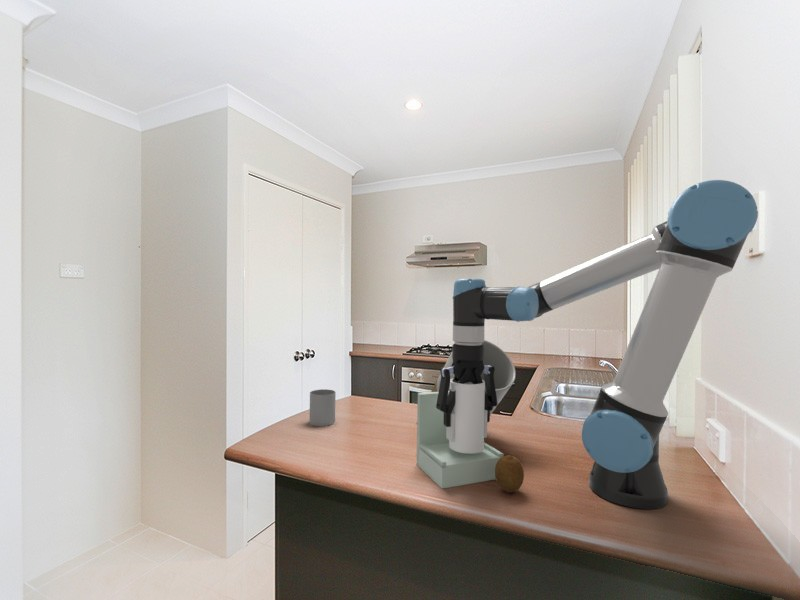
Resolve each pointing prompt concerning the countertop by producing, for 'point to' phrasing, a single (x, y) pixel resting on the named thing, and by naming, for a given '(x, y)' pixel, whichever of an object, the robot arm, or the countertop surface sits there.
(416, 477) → the countertop surface
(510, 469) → the fruit
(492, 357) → the planter
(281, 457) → the countertop surface
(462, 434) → the cup
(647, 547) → the countertop surface
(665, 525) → the countertop surface
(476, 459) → the mint green bookend
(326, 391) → the cup
